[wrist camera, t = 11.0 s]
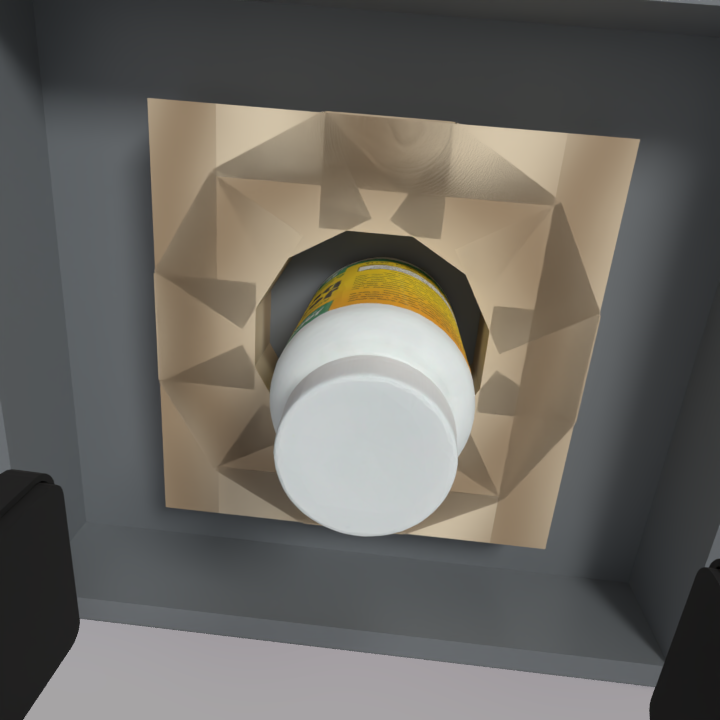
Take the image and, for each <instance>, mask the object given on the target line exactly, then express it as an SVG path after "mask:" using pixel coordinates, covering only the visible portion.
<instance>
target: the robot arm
mask: <svg viewBox="0 0 720 720" xmlns="http://www.w3.org/2000/svg"><path fill="white" fill-rule="evenodd" d="M79 624H80V618H79V610H78V602H77V594H76V586H75V578H74V570H73V563H72V555H71V547H70V539H69V531H68V523H67V515H66V508H65V500H64V493H63V489H62V488H61V486H59V485H55V484H54V480H53V478H52V477H51V476H50V475H48V474H46V473H39V472H31V471H23V470H15V469H10V470H6V471H4V472H3V473H1V474H0V720H23V719H24V717H25V716H26V714H27V713H28V711H29V710H30V709H31V707H32V705H33V704H34V702H35V701H36V700H37V698H38V697H39V695H40V694H41V692H42V691H43V689H44V688H45V686H46V685H47V683H48V682H49V680H50V679H51V677H52V676H53V674H54V673H55V671H56V670H57V668H58V667H59V665H60V663H61V662H62V661H63V659H64V658H65V656H66V655H67V653H68V652H69V650H70V649H71V647H72V645H73V644H74V642H75V639H76V637H77V634H78V630H79ZM649 711H650V720H720V559H715V560H714V561H713V562H712V563H711V564H710V566H709V568H708V567H703V568H701V569H699V570H698V572H697V574H696V576H695V579H694V582H693V585H692V588H691V590H690V593H689V596H688V599H687V601H686V604H685V607H684V610H683V612H682V615H681V618H680V621H679V623H678V626H677V629H676V632H675V634H674V637H673V640H672V643H671V646H670V648H669V651H668V654H667V657H666V659H665V662H664V665H663V668H662V670H661V673H660V676H659V679H658V681H657V684H656V687H655V690H654V692H653V695H652V698H651V702H650V710H649Z"/></svg>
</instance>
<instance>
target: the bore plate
mask: <svg viewBox="0 0 720 720" xmlns="http://www.w3.org/2000/svg"><path fill="white" fill-rule="evenodd" d="M147 101H148V123H149V145H150V167H151V190H152V212H153V234H154V256H155V273H154V290H155V312H156V334H157V356H158V377H159V380H160V390H161V412H162V434H163V457H164V479H165V501H166V507H170V508H179V509H188V510H197V511H206V512H215V513H224V514H233V515H242V516H251V517H260V518H269V519H278V520H287V521H296V522H303V523H304V524H313V525H321V524H319V523H317V522H316V521H314V520H312V519H311V518H309V517H308V516H307V515H305V514H304V513H302V512H301V511H300V510H299V509H298V508H297V507H296V506H295V505H294V504H293V503H292V501H291V500H290V499H289V497H288V496H287V494H286V493H285V491H284V489H283V487H282V485H281V483H280V481H279V478H278V475H277V472H276V468H275V461H274V453H273V451H274V442H275V437H276V432H275V429H274V426H273V422H272V418H271V412H270V387H271V381H272V377H273V373H274V370H275V367H276V363H277V361H278V359H279V358H278V357H277V355H276V353H275V351H274V349H273V348H272V346H271V344H270V318H271V290H272V288H273V287H274V285H275V283H276V282H277V280H278V279H279V277H280V276H281V274H282V273H283V271H284V270H285V268H286V267H287V265H288V263H289V262H290V260H291V259H292V257H293V256H294V255H296V254H298V253H300V252H302V251H304V250H306V249H309V248H311V247H313V246H315V245H317V244H319V243H321V242H323V241H325V240H328V239H330V238H332V237H334V236H336V235H338V234H340V233H342V232H344V231H357V232H368V233H379V234H390V235H401V236H412V237H414V238H415V239H417V240H418V241H420V242H421V243H422V244H424V245H425V246H426V247H428V248H429V249H431V250H432V251H433V252H435V253H436V254H438V255H439V256H440V257H442V258H443V259H445V260H446V261H447V262H449V263H450V264H452V265H453V266H454V267H456V268H457V269H459V270H460V271H461V272H463V273H464V274H466V277H467V279H468V281H469V284H470V286H471V288H472V291H473V293H474V296H475V298H476V300H477V303H478V305H479V307H480V310H481V314H480V320H479V326H478V333H477V339H476V346H475V352H474V358H473V363H472V364H471V366H470V370H471V375H472V379H473V385H474V391H475V414H474V421H473V425H472V429H471V433H470V435H469V438H468V440H467V443H466V445H465V447H464V448H463V450H462V452H461V453H460V455H459V456H458V466H457V471H456V476H455V479H454V482H453V484H452V487H451V489H450V491H449V493H448V495H447V496H446V498H445V499H444V501H443V502H442V503H441V505H440V506H439V507H438V508H437V509H436V510H435V511H434V512H433V513H432V514H431V515H429V516H428V517H427V518H426V519H424V520H423V521H422V522H420V523H418V524H417V525H415V526H413V527H410V528H408V529H406V530H404V531H401V532H397V533H394V534H403V533H404V534H413V535H422V536H431V537H440V538H449V539H458V540H467V541H476V542H485V543H494V544H503V545H512V546H521V547H530V548H539V549H545V548H546V543H547V539H548V535H549V530H550V526H551V522H552V518H553V513H554V509H555V505H556V500H557V496H558V492H559V487H560V483H561V479H562V474H563V470H564V466H565V461H566V457H567V453H568V449H569V444H570V440H571V436H572V431H573V427H574V425H575V424H574V423H576V421H577V416H578V412H579V408H580V404H581V399H582V395H583V391H584V386H585V382H586V378H587V373H588V369H589V365H590V361H591V356H592V352H593V348H594V343H595V339H596V335H597V331H598V326H599V322H600V318H601V316H600V314H601V313H600V310H601V306H602V302H603V298H604V293H605V289H606V285H607V280H608V276H609V272H610V267H611V263H612V259H613V254H614V250H615V246H616V241H617V237H618V233H619V229H620V224H621V220H622V216H623V211H624V207H625V203H626V198H627V194H628V190H629V185H630V181H631V177H632V172H633V168H634V164H635V160H636V155H637V151H638V147H639V142H640V139H631V138H619V137H607V136H595V135H583V134H571V133H560V132H548V131H536V130H524V129H512V128H500V127H488V126H476V125H464V124H459V123H455V122H451V121H439V120H427V119H416V118H404V117H392V116H380V115H368V114H356V113H344V112H332V111H325V112H323V111H322V112H309V111H297V110H285V109H274V108H262V107H250V106H238V105H226V104H214V103H202V102H190V101H178V100H166V99H154V98H147ZM322 526H323V525H322Z"/></svg>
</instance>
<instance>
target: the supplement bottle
mask: <svg viewBox="0 0 720 720" xmlns="http://www.w3.org/2000/svg"><path fill="white" fill-rule="evenodd" d="M270 412H271V418H272V422H273V426H274V429H275V432H276V437H275V442H274V451H273V453H274V461H275V468H276V472H277V475H278V478H279V481H280V483H281V485H282V487H283V489H284V491H285V493H286V494H287V496H288V497H289V499H290V500H291V501H292V503H293V504H294V505H295V506H296V507H297V508H298V509H299V510H300V511H301V512H302V513H304V514H305V515H307V516H308V517H309V518H311V519H312V520H314V521H316V522H317V523H319V524H321V525H323V526H325V527H327V528H329V529H332V530H334V531H337V532H340V533H344V534H349V535H356V536H363V537H367V536H383V535H389V534H393V533H397V532H401V531H404V530H406V529H408V528H410V527H413V526H415V525H417V524H418V523H420V522H422V521H423V520H424V519H426V518H427V517H428V516H429V515H431V514H432V513H433V512H434V511H435V510H436V509H437V508H438V507H439V506H440V505H441V503H442V502H443V501H444V499H445V498H446V496H447V495H448V493H449V491H450V489H451V487H452V484H453V482H454V479H455V476H456V471H457V466H458V456H459V455H460V453H461V452H462V450H463V448H464V447H465V445H466V443H467V440H468V438H469V435H470V433H471V429H472V425H473V421H474V414H475V391H474V385H473V379H472V375H471V370H470V366H469V364H468V361H467V357H466V354H465V350H464V348H463V344H462V341H461V337H460V334H459V330H458V326H457V323H456V319H455V316H454V313H453V310H452V307H451V305H450V302H449V300H448V298H447V296H446V294H445V293H444V291H443V290H442V288H441V287H440V286H439V284H438V283H437V282H436V281H435V280H434V279H433V278H432V277H431V276H430V275H429V274H428V273H426V272H425V271H423V270H422V269H420V268H419V267H417V266H415V265H413V264H411V263H408V262H406V261H403V260H399V259H395V258H389V257H376V258H368V259H364V260H360V261H357V262H354V263H351V264H349V265H347V266H345V267H343V268H341V269H339V270H338V271H336V272H335V273H334V274H332V275H331V276H330V277H329V278H327V279H326V280H325V281H324V282H323V284H322V285H321V286H320V287H319V289H318V290H317V292H316V294H315V295H314V297H313V298H312V300H311V302H310V304H309V306H308V308H307V309H306V311H305V313H304V315H303V317H302V319H301V320H300V322H299V323H298V325H297V327H296V329H295V330H294V332H293V334H292V335H291V337H290V339H289V341H288V343H287V344H286V346H285V348H284V350H283V352H282V354H281V355H280V357H279V359H278V361H277V363H276V367H275V370H274V373H273V377H272V381H271V387H270Z"/></svg>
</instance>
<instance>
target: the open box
mask: <svg viewBox="0 0 720 720" xmlns="http://www.w3.org/2000/svg"><path fill="white" fill-rule="evenodd" d="M147 98H154V99H166V100H178V101H190V102H202V103H214V104H226V105H238V106H250V107H262V108H274V109H285V110H297V111H309V112H322V111H323V112H325V111H332V112H344V113H356V114H368V115H380V116H392V117H404V118H416V119H427V120H439V121H451V122H455V123H459V124H464V125H476V126H488V127H500V128H512V129H524V130H536V131H548V132H560V133H571V134H583V135H595V136H607V137H619V138H631V139H640V142H639V147H638V151H637V155H636V160H635V164H634V168H633V172H632V177H631V181H630V185H629V190H628V194H627V198H626V203H625V207H624V211H623V216H622V220H621V224H620V229H619V233H618V237H617V241H616V246H615V250H614V254H613V259H612V263H611V267H610V272H609V276H608V280H607V285H606V289H605V293H604V298H603V302H602V306H601V310H600V313H601V314H600V316H601V318H600V322H599V326H598V331H597V335H596V339H595V343H594V348H593V352H592V356H591V361H590V365H589V369H588V373H587V378H586V382H585V386H584V391H583V395H582V399H581V404H580V408H579V412H578V416H577V421H576V423H574V424H575V425H574V427H573V431H572V436H571V440H570V444H569V449H568V453H567V457H566V461H565V466H564V470H563V474H562V479H561V483H560V487H559V492H558V496H557V500H556V505H555V509H554V513H553V518H552V522H551V526H550V530H549V535H548V539H547V543H546V548H545V549H539V548H530V547H521V546H512V545H503V544H494V543H485V542H476V541H467V540H458V539H449V538H440V537H431V536H422V535H413V534H404V533H403V534H394V533H393V534H389V535H383V536H367V537H363V536H356V535H349V534H344V533H340V532H337V531H334V530H332V529H329V528H327V527H325V526H322V525H313V524H304V523H303V522H296V521H287V520H278V519H269V518H260V517H251V516H242V515H233V514H224V513H215V512H206V511H197V510H188V509H179V508H170V507H166V501H165V479H164V457H163V434H162V412H161V390H160V380H159V377H158V356H157V334H156V312H155V290H154V273H155V256H154V234H153V212H152V190H151V167H150V145H149V123H148V101H147ZM376 257H389V258H395V259H399V260H403V261H406V262H408V263H411V264H413V265H415V266H417V267H419V268H420V269H422V270H423V271H425V272H426V273H428V274H429V275H430V276H431V277H432V278H433V279H434V280H435V281H436V282H437V283H438V284H439V286H440V287H441V288H442V290H443V291H444V293H445V294H446V296H447V298H448V300H449V302H450V305H451V307H452V310H453V313H454V316H455V319H456V323H457V326H458V330H459V334H460V337H461V341H462V344H463V348H464V350H465V354H466V357H467V361H468V364H469V366H471V364H472V363H473V358H474V352H475V346H476V339H477V333H478V326H479V320H480V314H481V310H480V307H479V305H478V303H477V300H476V298H475V296H474V293H473V291H472V288H471V286H470V284H469V281H468V279H467V277H466V274H464V273H463V272H461V271H460V270H459V269H457V268H456V267H454V266H453V265H452V264H450V263H449V262H447V261H446V260H445V259H443V258H442V257H440V256H439V255H438V254H436V253H435V252H433V251H432V250H431V249H429V248H428V247H426V246H425V245H424V244H422V243H421V242H420V241H418V240H417V239H415V238H414V237H412V236H401V235H390V234H379V233H368V232H357V231H344V232H342V233H340V234H338V235H336V236H334V237H332V238H330V239H328V240H325V241H323V242H321V243H319V244H317V245H315V246H313V247H311V248H309V249H306V250H304V251H302V252H300V253H298V254H296V255H294V256H293V257H292V259H291V260H290V262H289V263H288V265H287V267H286V268H285V270H284V271H283V273H282V274H281V276H280V277H279V279H278V280H277V282H276V283H275V285H274V287H273V288H272V290H271V318H270V344H271V346H272V348H273V349H274V351H275V353H276V355H277V357H278V358H279V357H280V355H281V354H282V352H283V350H284V348H285V346H286V344H287V343H288V341H289V339H290V337H291V335H292V334H293V332H294V330H295V329H296V327H297V325H298V323H299V322H300V320H301V319H302V317H303V315H304V313H305V311H306V309H307V308H308V306H309V304H310V302H311V300H312V298H313V297H314V295H315V294H316V292H317V290H318V289H319V287H320V286H321V285H322V284H323V282H324V281H325V280H326V279H327V278H329V277H330V276H331V275H332V274H334V273H335V272H336V271H338V270H339V269H341V268H343V267H345V266H347V265H349V264H351V263H354V262H357V261H360V260H364V259H368V258H376ZM10 469H15V470H23V471H31V472H39V473H46V474H48V475H50V476H51V477H52V478H53V480H54V484H55V485H59V486H61V488H62V489H63V493H64V500H65V508H66V515H67V523H68V531H69V539H70V547H71V555H72V563H73V570H74V578H75V586H76V594H77V602H78V610H79V618H80V619H88V620H96V621H105V622H113V623H122V624H130V625H139V626H148V627H155V628H164V629H172V630H180V631H189V632H197V633H206V634H214V635H222V636H231V637H239V638H248V639H256V640H264V641H273V642H281V643H290V644H298V645H306V646H315V647H324V648H332V649H340V650H349V651H357V652H365V653H374V654H382V655H390V656H399V657H407V658H416V659H424V660H432V661H441V662H449V663H458V664H466V665H474V666H483V667H491V668H500V669H508V670H517V671H525V672H533V673H542V674H550V675H559V676H567V677H575V678H584V679H592V680H601V681H609V682H617V683H626V684H634V685H643V686H651V687H656V684H657V681H658V679H659V676H660V673H661V670H662V668H663V665H664V662H665V659H666V657H667V654H668V651H669V648H670V646H671V643H672V640H673V637H674V634H675V632H676V629H677V626H678V623H679V621H680V618H681V615H682V612H683V610H684V607H685V604H686V601H687V599H688V596H689V593H690V590H691V588H692V585H693V582H694V579H695V576H696V574H697V572H698V570H699V569H701V568H703V567H708V568H709V566H710V564H711V563H712V562H713V561H714V560H715V559H720V0H0V474H1V473H3V472H4V471H6V470H10Z"/></svg>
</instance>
